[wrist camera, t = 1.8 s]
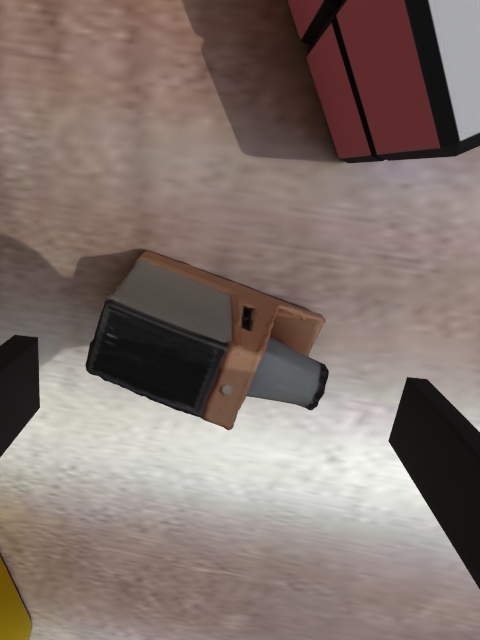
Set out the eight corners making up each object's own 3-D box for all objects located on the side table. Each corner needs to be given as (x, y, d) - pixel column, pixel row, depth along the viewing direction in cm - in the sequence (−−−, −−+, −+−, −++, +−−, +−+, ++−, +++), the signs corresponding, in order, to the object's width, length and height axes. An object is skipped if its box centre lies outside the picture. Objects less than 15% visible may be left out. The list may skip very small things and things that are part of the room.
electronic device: (290, 381, 23) (318, 475, 16) (118, 326, 22) (65, 401, 14) (322, 310, 22) (369, 376, 14) (142, 246, 20) (96, 285, 13)
